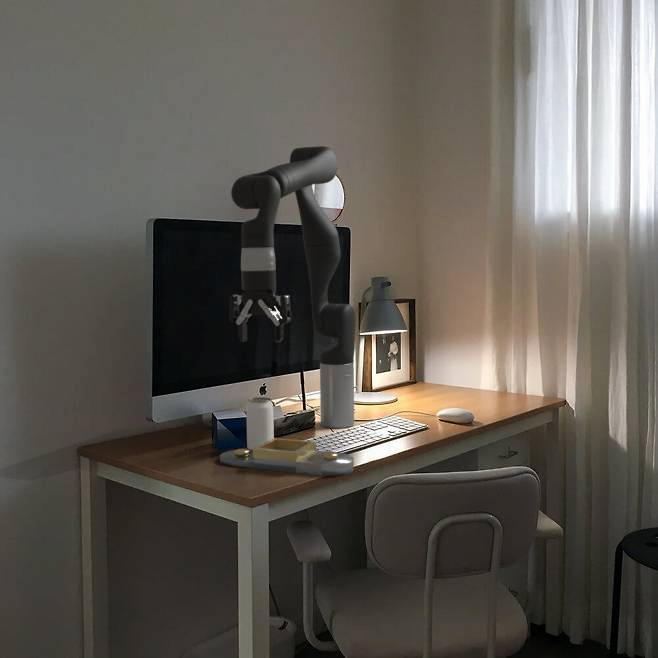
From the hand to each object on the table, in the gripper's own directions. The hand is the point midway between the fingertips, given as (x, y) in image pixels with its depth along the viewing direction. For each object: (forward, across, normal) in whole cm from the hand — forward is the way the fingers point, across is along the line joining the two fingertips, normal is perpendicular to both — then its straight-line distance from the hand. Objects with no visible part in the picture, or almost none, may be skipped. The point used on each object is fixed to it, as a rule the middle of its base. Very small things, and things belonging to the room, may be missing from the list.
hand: (260, 341), depth 171 cm
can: (+28, +7, -12) cm, 31 cm away
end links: (+28, -5, 0) cm, 28 cm away
